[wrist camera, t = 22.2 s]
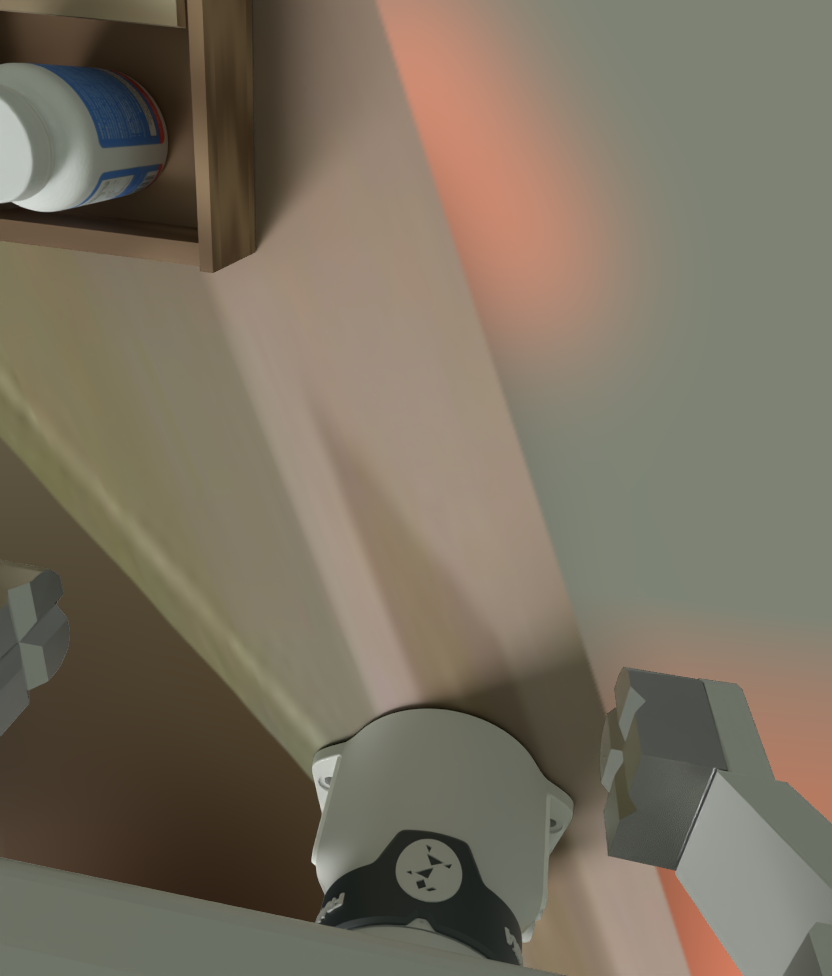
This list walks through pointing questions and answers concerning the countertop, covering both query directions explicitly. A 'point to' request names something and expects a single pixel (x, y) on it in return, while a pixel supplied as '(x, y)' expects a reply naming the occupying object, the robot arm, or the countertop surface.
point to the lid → (106, 10)
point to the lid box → (190, 128)
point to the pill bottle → (75, 136)
